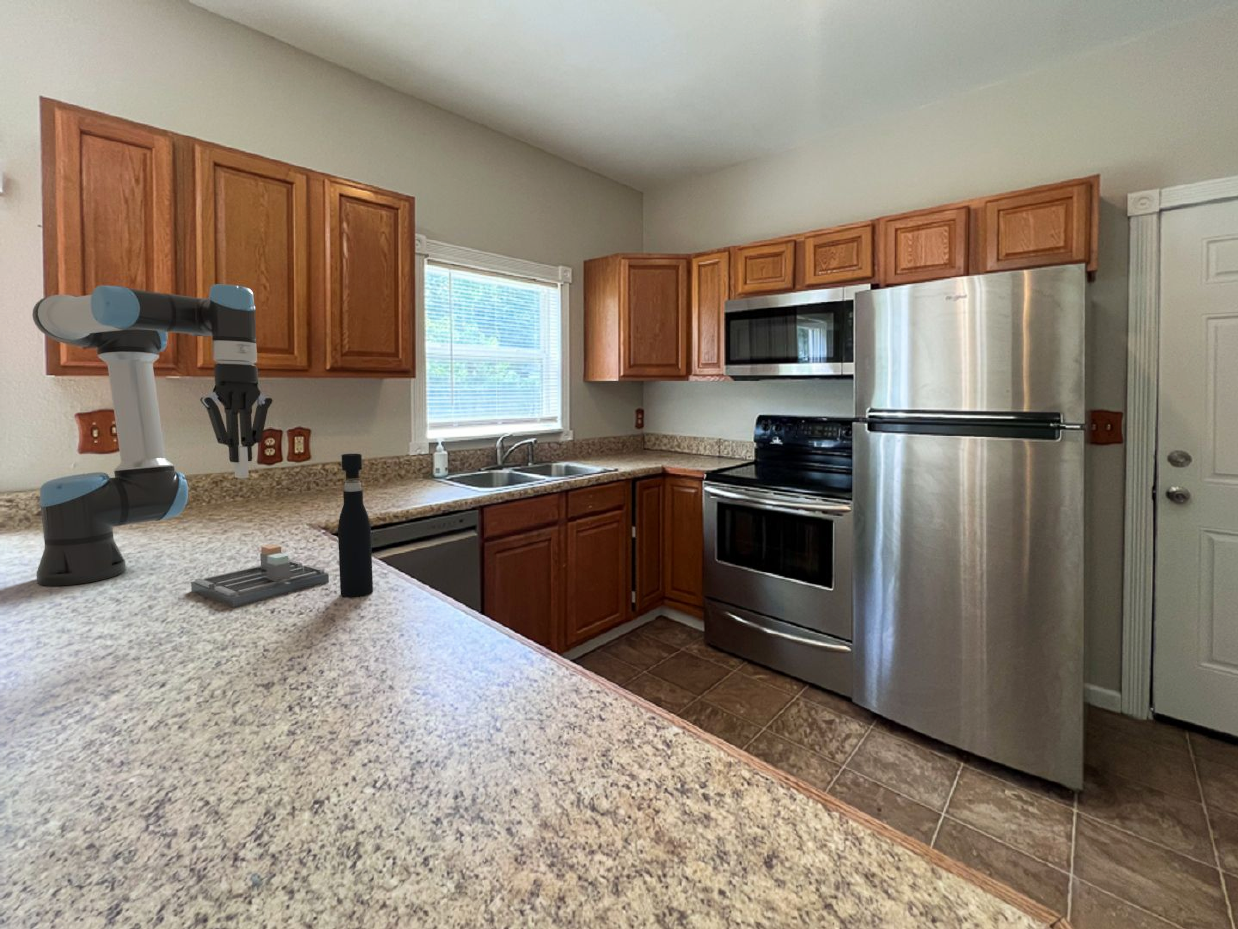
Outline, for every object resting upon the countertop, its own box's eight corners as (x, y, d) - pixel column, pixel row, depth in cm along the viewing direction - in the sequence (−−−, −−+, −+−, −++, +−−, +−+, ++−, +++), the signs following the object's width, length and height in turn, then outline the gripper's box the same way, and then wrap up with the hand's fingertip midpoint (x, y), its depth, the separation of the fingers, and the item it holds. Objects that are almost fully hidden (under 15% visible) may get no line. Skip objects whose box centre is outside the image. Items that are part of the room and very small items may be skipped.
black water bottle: (364, 598, 122) (359, 456, 119) (334, 597, 122) (328, 455, 119) (378, 588, 128) (373, 453, 125) (349, 588, 129) (343, 452, 125)
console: (191, 591, 125) (190, 578, 125) (285, 569, 142) (285, 557, 142) (233, 608, 116) (232, 594, 115) (328, 582, 132) (328, 570, 132)
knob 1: (261, 568, 135) (259, 546, 134) (274, 565, 137) (273, 544, 137) (270, 571, 133) (268, 549, 132) (283, 568, 135) (282, 546, 134)
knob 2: (267, 579, 127) (265, 555, 127) (281, 575, 130) (279, 552, 129) (276, 582, 125) (275, 558, 124) (290, 578, 128) (289, 555, 127)
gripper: (208, 361, 112) (215, 482, 115) (278, 365, 123) (283, 476, 126) (191, 361, 116) (198, 479, 119) (260, 365, 127) (265, 472, 130)
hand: (241, 477), depth 122 cm, fingers closed
